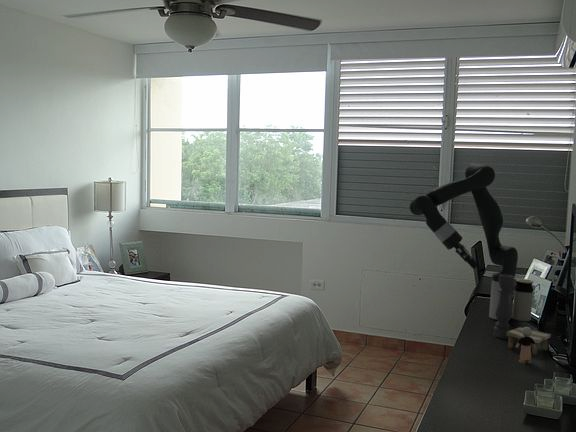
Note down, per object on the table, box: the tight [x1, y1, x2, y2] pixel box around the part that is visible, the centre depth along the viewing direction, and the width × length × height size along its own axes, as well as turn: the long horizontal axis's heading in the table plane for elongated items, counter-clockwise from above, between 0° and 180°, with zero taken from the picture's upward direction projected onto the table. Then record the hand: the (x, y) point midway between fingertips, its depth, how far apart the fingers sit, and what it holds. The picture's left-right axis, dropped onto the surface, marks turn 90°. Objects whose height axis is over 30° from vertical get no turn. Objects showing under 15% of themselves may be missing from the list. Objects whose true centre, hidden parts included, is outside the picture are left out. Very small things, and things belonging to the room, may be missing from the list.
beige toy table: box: [506, 326, 552, 356], centre depth 231 cm, size 12×12×6 cm
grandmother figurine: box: [515, 326, 536, 364], centre depth 214 cm, size 8×4×13 cm, turn 111°
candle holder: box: [492, 274, 515, 340], centre depth 245 cm, size 6×6×25 cm
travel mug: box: [511, 278, 534, 322], centre depth 275 cm, size 8×8×18 cm
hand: (475, 265), depth 245 cm, fingers open, 8 cm apart
